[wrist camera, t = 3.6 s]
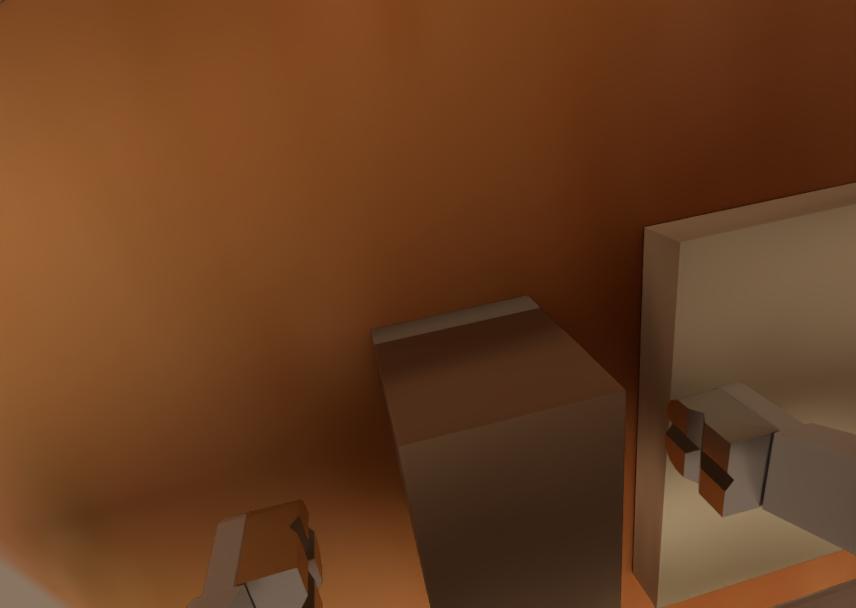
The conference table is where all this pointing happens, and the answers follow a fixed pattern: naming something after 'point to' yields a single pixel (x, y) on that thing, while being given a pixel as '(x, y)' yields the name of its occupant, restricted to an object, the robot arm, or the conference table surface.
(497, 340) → the block
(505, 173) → the conference table surface
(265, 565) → the robot arm
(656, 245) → the board
